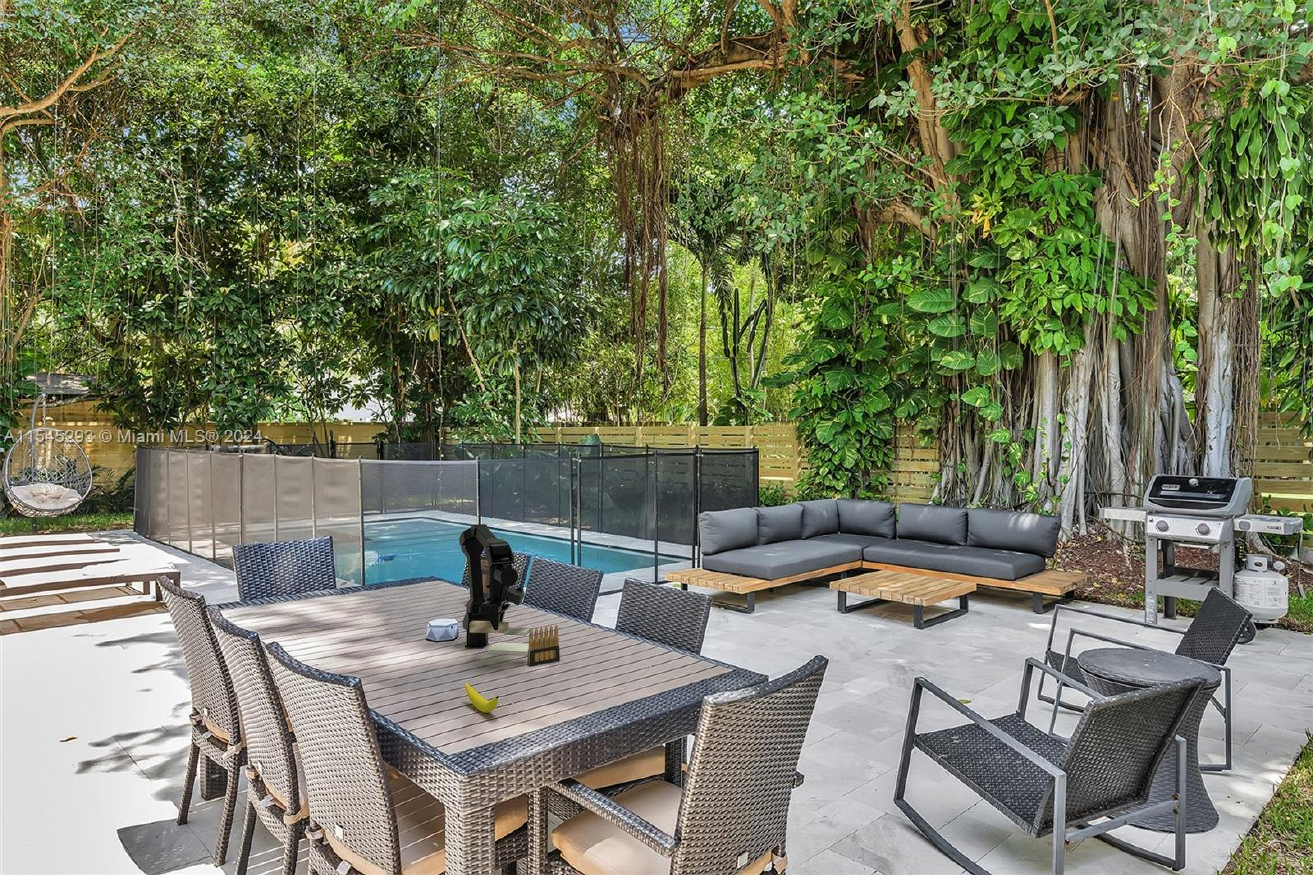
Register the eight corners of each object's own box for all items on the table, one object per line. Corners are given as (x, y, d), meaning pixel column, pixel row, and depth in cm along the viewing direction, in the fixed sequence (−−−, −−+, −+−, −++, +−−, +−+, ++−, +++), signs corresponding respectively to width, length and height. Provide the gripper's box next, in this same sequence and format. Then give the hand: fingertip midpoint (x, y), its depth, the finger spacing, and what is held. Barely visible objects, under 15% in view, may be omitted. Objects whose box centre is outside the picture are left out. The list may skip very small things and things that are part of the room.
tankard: (457, 605, 324) (457, 558, 324) (489, 598, 337) (489, 553, 337) (491, 614, 309) (492, 564, 309) (524, 606, 322) (524, 559, 322)
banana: (470, 699, 213) (470, 676, 213) (503, 719, 198) (503, 695, 198) (460, 701, 211) (460, 678, 211) (492, 722, 196) (492, 697, 196)
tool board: (488, 653, 256) (488, 650, 256) (496, 645, 265) (496, 642, 265) (552, 656, 253) (552, 652, 253) (559, 648, 262) (559, 644, 262)
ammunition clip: (529, 666, 242) (529, 628, 242) (527, 665, 244) (527, 627, 243) (559, 661, 248) (560, 624, 248) (557, 659, 250) (557, 623, 249)
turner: (468, 633, 245) (468, 624, 245) (474, 628, 251) (474, 619, 251) (525, 635, 243) (525, 626, 243) (530, 630, 249) (530, 621, 249)
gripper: (513, 587, 237) (513, 637, 237) (530, 575, 256) (530, 622, 256) (478, 586, 238) (478, 636, 238) (497, 574, 257) (497, 621, 257)
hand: (497, 628), depth 247 cm, fingers closed on turner, 3 cm apart
